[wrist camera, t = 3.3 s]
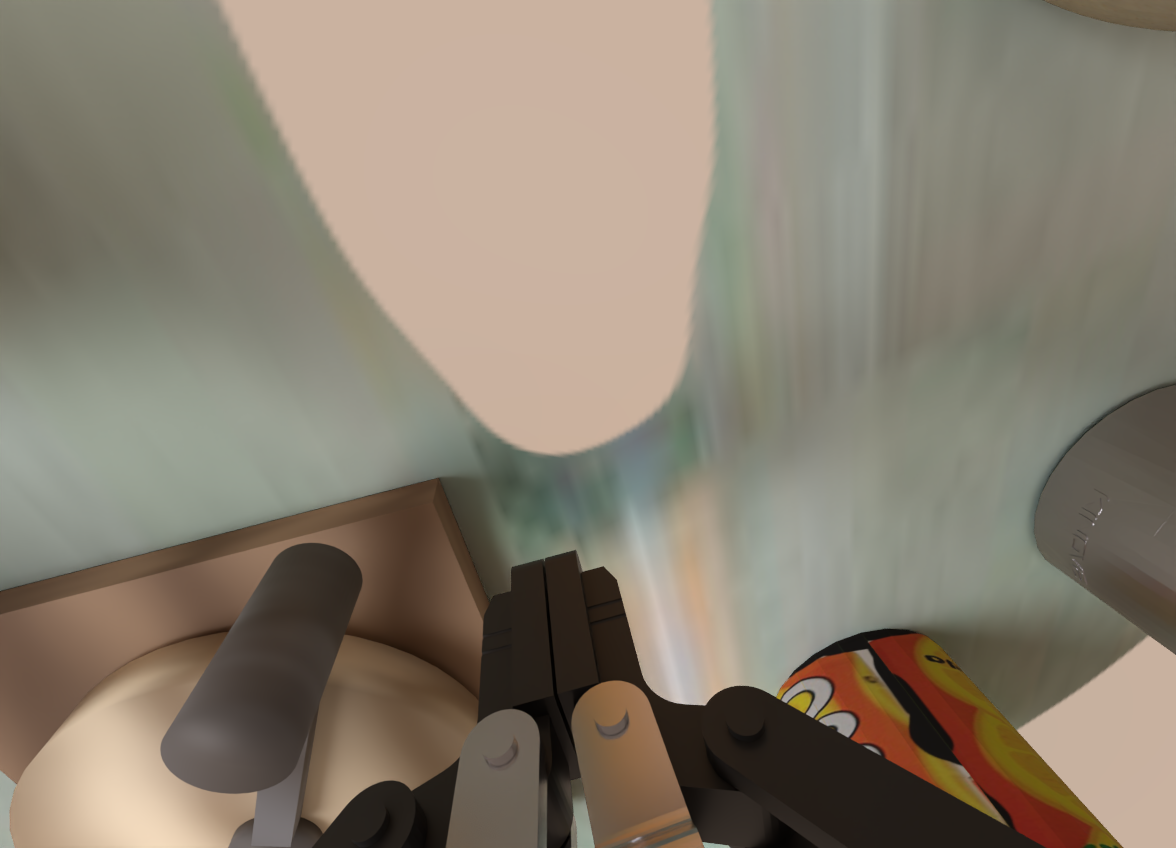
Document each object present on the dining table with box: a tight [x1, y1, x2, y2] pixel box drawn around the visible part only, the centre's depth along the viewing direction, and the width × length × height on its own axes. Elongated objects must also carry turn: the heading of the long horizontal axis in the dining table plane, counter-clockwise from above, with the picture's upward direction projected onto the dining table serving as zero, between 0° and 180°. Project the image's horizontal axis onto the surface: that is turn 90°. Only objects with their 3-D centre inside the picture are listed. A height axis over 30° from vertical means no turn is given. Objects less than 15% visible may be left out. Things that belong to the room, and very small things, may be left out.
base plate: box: [0, 478, 489, 784], centre depth 21 cm, size 18×19×2 cm
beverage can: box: [776, 629, 1123, 848], centre depth 21 cm, size 9×9×12 cm
